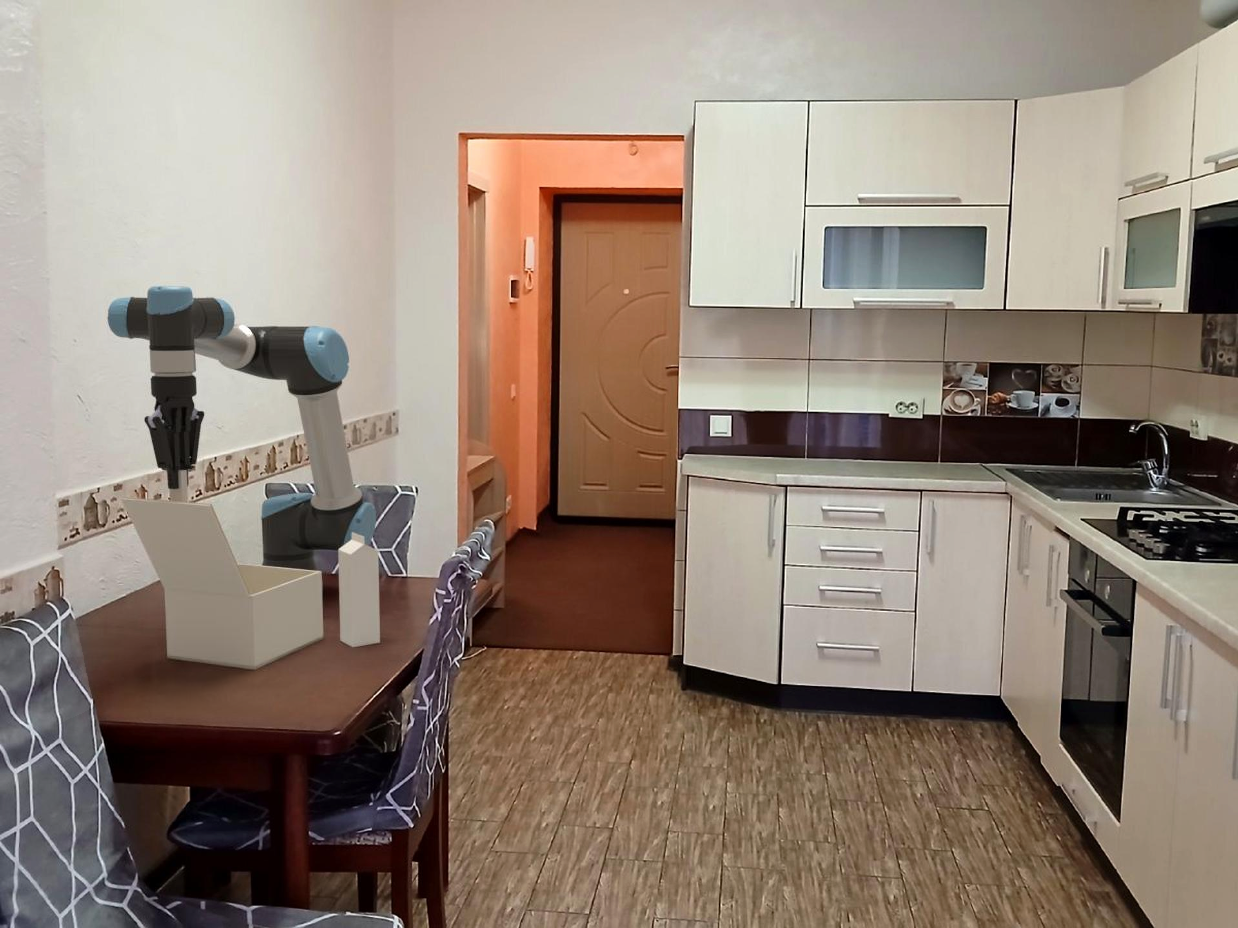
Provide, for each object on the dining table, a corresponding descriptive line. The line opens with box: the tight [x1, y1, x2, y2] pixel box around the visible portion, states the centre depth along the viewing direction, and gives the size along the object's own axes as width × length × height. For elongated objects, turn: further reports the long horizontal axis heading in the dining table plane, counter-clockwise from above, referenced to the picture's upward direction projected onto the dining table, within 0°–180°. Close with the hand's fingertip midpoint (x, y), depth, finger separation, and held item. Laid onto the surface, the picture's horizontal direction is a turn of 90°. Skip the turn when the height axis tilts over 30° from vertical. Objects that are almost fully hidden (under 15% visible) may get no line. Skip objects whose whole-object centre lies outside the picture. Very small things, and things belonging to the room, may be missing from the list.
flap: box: [120, 496, 250, 597], centre depth 211 cm, size 21×19×1 cm
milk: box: [337, 532, 381, 648], centre depth 233 cm, size 6×6×22 cm
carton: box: [163, 563, 324, 671], centre depth 228 cm, size 22×20×14 cm
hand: (179, 505), depth 209 cm, fingers closed
